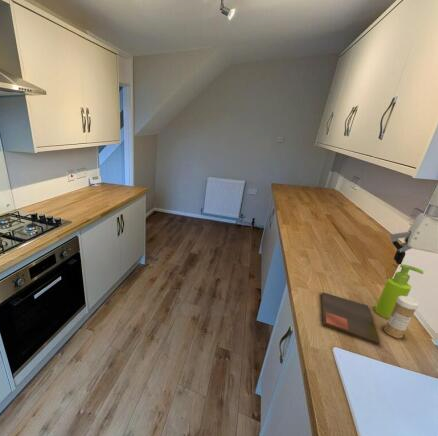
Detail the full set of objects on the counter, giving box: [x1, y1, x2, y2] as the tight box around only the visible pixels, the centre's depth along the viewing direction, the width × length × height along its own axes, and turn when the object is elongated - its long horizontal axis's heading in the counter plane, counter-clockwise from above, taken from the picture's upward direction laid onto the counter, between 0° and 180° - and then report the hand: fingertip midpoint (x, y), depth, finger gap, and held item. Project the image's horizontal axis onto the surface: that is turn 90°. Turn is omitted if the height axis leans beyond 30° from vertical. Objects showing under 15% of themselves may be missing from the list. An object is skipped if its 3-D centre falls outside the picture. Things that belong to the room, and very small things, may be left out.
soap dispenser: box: [374, 263, 425, 320], centre depth 82 cm, size 6×7×20 cm
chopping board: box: [321, 291, 380, 346], centre depth 84 cm, size 20×14×1 cm
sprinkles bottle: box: [383, 296, 420, 339], centre depth 75 cm, size 5×5×13 cm
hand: (420, 267), depth 70 cm, fingers open, 9 cm apart
